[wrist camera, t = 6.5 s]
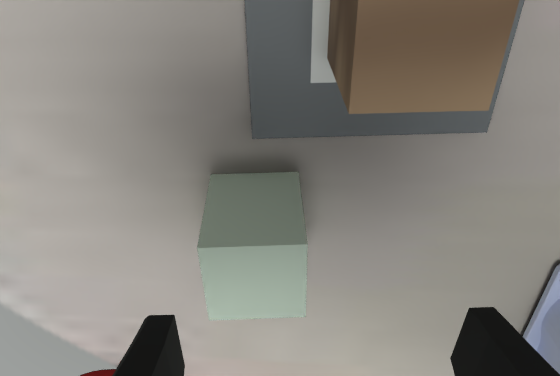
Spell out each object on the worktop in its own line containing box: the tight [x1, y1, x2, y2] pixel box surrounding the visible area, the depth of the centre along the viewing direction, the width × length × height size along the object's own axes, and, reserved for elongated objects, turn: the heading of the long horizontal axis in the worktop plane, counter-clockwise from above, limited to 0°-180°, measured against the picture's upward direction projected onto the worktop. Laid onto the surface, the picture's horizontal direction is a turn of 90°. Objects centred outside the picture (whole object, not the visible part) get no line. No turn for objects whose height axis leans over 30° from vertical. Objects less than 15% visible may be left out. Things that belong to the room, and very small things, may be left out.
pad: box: [245, 0, 524, 139], centre depth 16 cm, size 10×10×1 cm
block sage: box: [197, 172, 308, 320], centre depth 19 cm, size 4×4×5 cm
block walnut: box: [327, 0, 519, 114], centre depth 13 cm, size 4×4×5 cm
